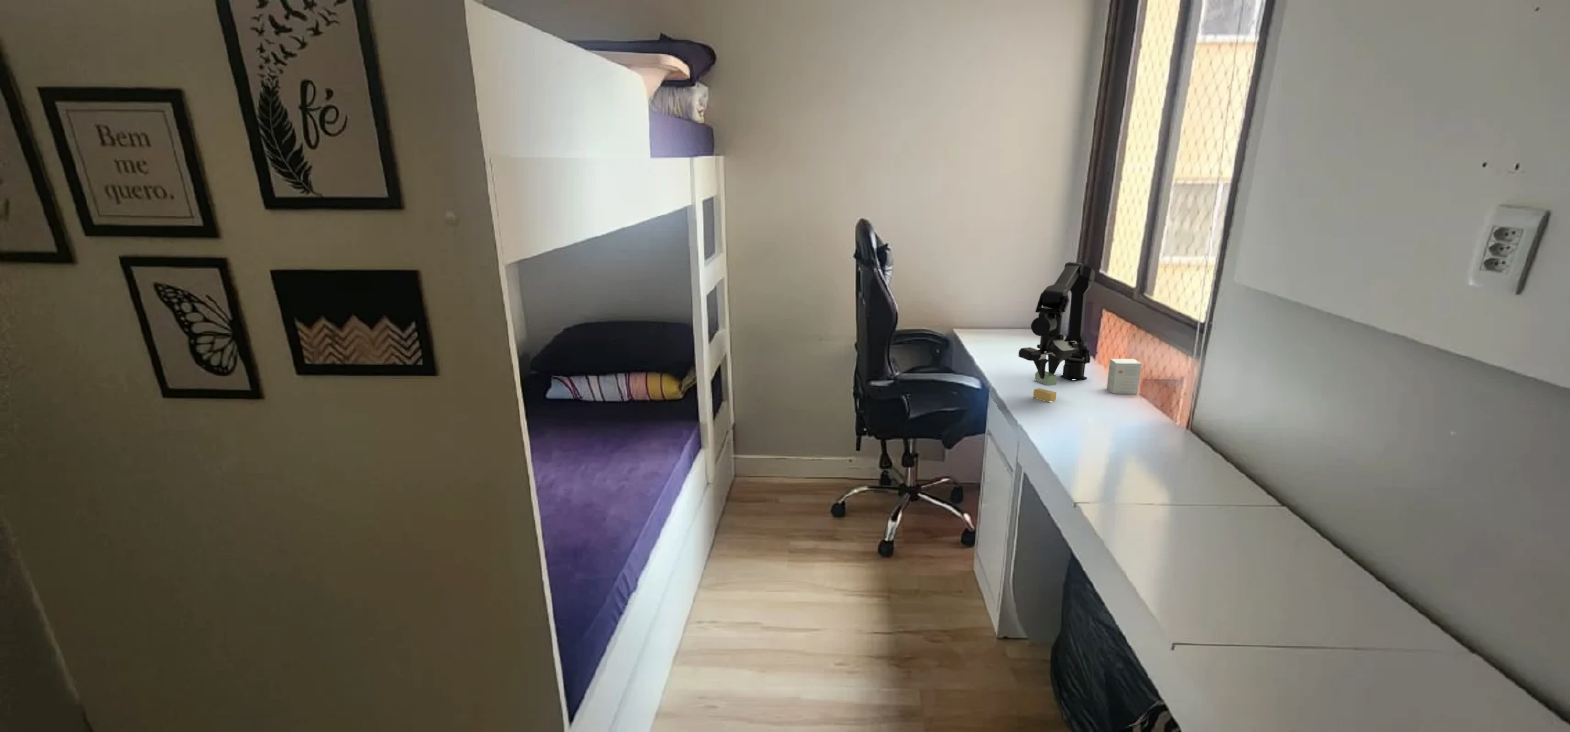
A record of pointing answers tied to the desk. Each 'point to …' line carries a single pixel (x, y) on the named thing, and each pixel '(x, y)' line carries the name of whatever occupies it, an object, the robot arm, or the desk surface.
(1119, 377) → the small box
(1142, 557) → the desk surface
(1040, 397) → the ochre brick
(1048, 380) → the sage brick
